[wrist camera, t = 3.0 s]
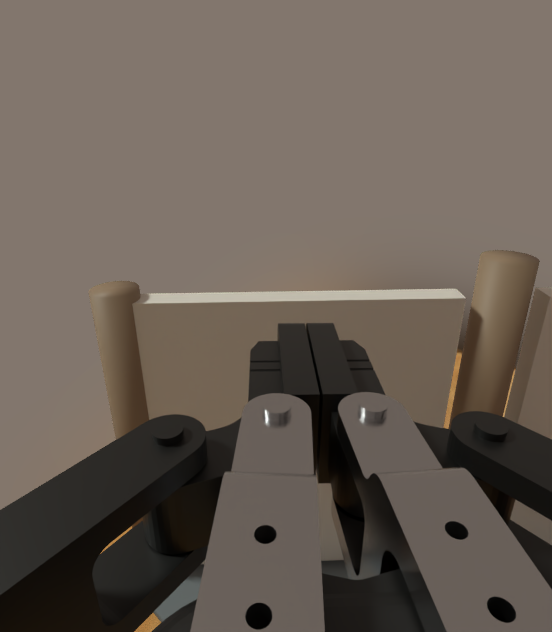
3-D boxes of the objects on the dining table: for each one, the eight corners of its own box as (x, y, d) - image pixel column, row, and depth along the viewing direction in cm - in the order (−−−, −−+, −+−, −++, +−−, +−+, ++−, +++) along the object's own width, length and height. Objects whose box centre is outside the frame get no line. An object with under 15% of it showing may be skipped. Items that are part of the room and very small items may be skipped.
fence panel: (411, 534, 24) (453, 275, 18) (422, 565, 22) (472, 292, 17) (143, 542, 24) (98, 281, 18) (134, 573, 22) (81, 298, 16)
